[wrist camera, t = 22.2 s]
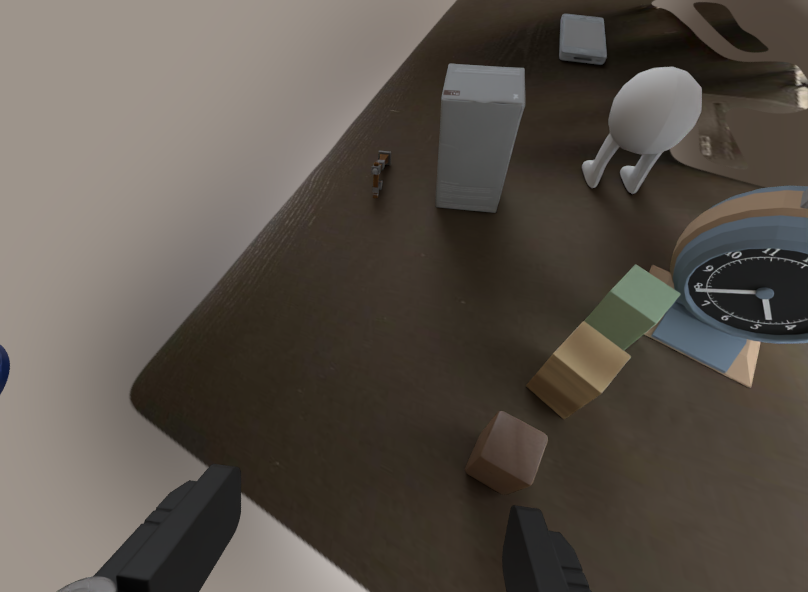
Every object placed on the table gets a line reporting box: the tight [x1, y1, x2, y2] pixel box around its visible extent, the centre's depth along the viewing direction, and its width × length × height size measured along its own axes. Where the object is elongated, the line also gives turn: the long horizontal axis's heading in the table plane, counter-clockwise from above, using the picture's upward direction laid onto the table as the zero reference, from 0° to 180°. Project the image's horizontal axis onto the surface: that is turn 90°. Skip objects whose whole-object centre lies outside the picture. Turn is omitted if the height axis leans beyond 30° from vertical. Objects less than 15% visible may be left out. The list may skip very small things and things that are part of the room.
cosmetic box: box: [436, 64, 525, 213], centre depth 45 cm, size 8×7×16 cm
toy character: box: [582, 67, 702, 194], centre depth 47 cm, size 9×9×15 cm
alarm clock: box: [644, 186, 808, 388], centre depth 34 cm, size 14×10×18 cm
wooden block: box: [465, 411, 548, 495], centre depth 31 cm, size 4×4×8 cm
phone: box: [559, 14, 607, 65], centre depth 74 cm, size 8×16×1 cm, turn 167°
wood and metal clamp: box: [372, 151, 391, 198], centre depth 52 cm, size 2×8×4 cm, turn 172°
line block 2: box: [585, 265, 681, 351], centre depth 38 cm, size 4×4×8 cm
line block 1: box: [526, 321, 631, 419], centre depth 34 cm, size 4×4×8 cm
